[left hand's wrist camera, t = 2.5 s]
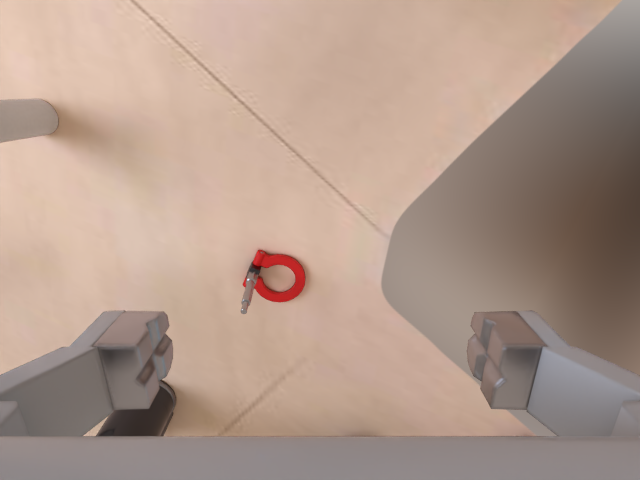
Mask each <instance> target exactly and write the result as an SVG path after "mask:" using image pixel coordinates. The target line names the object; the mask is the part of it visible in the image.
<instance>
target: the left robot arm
mask: <svg viewBox="0 0 640 480" xmlns="http://www.w3.org/2000/svg"><path fill="white" fill-rule="evenodd" d="M168 327H169V322H168V317H167V314H166V313H165V312H160V311H105V312H103V313H102V314H101V315H100V316H99V317H98V318H97V319H96V320H95V321H94V322H93V323H92V324H91V325H90V326H89V327H88V328H87V329H86V330H85V331H84V332H83V333H82V334H81V335H80V336H79V337H78V338H77V339H76V340H75V341H74V342H73V343H72V344H71V345H70V346H69V347H61V348H59V349H57V350H55V351H53V352H50V353H48V354H46V355H44V356H42V357H39V358H37V359H35V360H33V361H30V362H28V363H26V364H24V365H22V366H19V367H17V368H15V369H13V370H10V371H8V372H6V373H4V374H2V375H0V480H640V375H638V374H636V373H634V372H632V371H629V370H627V369H625V368H623V367H620V366H618V365H616V364H614V363H612V362H609V361H607V360H605V359H603V358H601V357H598V356H596V355H594V354H592V353H590V352H587V351H585V350H583V349H581V348H578V347H571V346H570V345H569V344H568V343H567V342H566V341H565V340H564V339H563V338H562V337H561V336H560V335H559V334H558V333H557V332H556V331H555V330H554V329H553V328H552V327H551V326H550V325H549V324H548V323H547V322H546V321H545V320H544V319H543V318H542V317H541V316H540V315H539V314H538V313H537V312H535V311H532V310H530V311H501V312H475V313H474V315H473V317H472V321H471V327H472V329H473V331H474V332H475V334H474V335H473V336H472V337H471V338H470V339H469V340H468V346H467V359H468V364H469V367H470V370H471V372H472V374H473V376H474V377H476V378H477V379H479V380H480V381H482V383H481V388H480V389H481V391H482V393H483V395H484V396H485V398H486V400H487V402H488V404H489V406H490V407H491V409H515V410H527V412H528V413H529V414H530V415H532V416H533V417H534V418H536V419H537V420H538V421H539V422H541V423H542V424H543V425H544V426H546V427H547V428H548V429H549V430H551V431H552V432H553V433H554V434H556V435H557V436H83V435H84V434H86V433H87V432H88V431H90V430H91V429H92V428H93V427H95V426H96V425H97V424H98V423H100V422H101V421H102V420H103V419H105V418H106V417H107V416H108V415H110V414H111V413H112V412H113V410H125V409H149V407H150V406H151V404H152V402H153V400H154V398H155V396H156V395H157V393H158V391H159V389H160V388H159V383H158V381H160V380H161V379H163V378H164V377H166V376H167V374H168V372H169V370H170V368H171V363H172V359H173V345H172V340H171V339H170V338H169V337H168V336H167V335H166V334H165V332H166V331H167V329H168Z"/></svg>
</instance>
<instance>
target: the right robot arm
mask: <svg viewBox="0 0 640 480" xmlns="http://www.w3.org/2000/svg"><path fill="white" fill-rule="evenodd" d="M158 383H159V388H160V389H159V391H158V393H157V395H156V396H155V398H154V400H153V402H152V404H151V406H150V407H149V409H125V410H113V412H112V413H111V414H110V415H109V416H108V418H107V420H106V421H105V423H104V424H103V426H102V427H101V429H100V430H99V432H98V434H97V435H96V436H164V433H165V431H166V429H167V427H168V425H169V422H170V420H171V418H172V416H173V409H174V407H175V404H176V397H175V394H174V392H173V390H172V389H171V388H170V387H169V386H168V385H167V384H165V383H164V382H162V381H158Z"/></svg>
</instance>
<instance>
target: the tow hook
mask: <svg viewBox="0 0 640 480" xmlns="http://www.w3.org/2000/svg"><path fill="white" fill-rule="evenodd" d="M273 265H284V266H287V267H289V268H290V269H291V270H292V271H293V272H294V274H295V277H296V282H295V284H294V286H293V287H292V288H291V289H289V290H288V291H285V292H274V291H271V290H269V289H268V288H267V287H266V286H265V285H264V283H263V279H262V278H261V277H258V275H259V273H260V269H261V266H262V267H265V268H269V267H270V266H273ZM304 285H305V273H304V270H303V268H302V266H301V265H300V264H299V262H298V261H296V260H295V259H293V258H292V257H289V256H286V255H280V254H277V255H271V256H270V255H268V254H266V253H265V252H264V251H262V250H258V251H257V254H256V256H255V258H254V260H253V262H252V263H251V266H250V268H249V270H248V272H247V276H246V278H245V280H244V282H243V286H244V287H246V288H245V292H244V295H243V299H242V309H241V313H242V314H246V313H247V309H248V306H249V305H250V303H251V298H252V294H253V290H254V288H255V289H256V291H257V292H258V293H259V294H260V295H261V296H262V297H264V298H265V299H267V300H270V301H273V302H286V301H289V300H292V299H293V298H295V297H296V296H298V295H299V294H300V292H301V291H302V289H303V287H304Z"/></svg>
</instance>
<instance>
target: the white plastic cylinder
mask: <svg viewBox="0 0 640 480" xmlns="http://www.w3.org/2000/svg"><path fill="white" fill-rule="evenodd" d="M57 127H58V116H57V113H56V111H55V110H54V108H53V107H52V106H51V105H50V104H49V103H47V102H46V101H44V100H41V99H14V100H0V143H2V142H7V141H13V140H19V139H25V138H31V137H37V136H43V135H49V134H51V133H53V132H54V131H55V130H56V129H57Z"/></svg>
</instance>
